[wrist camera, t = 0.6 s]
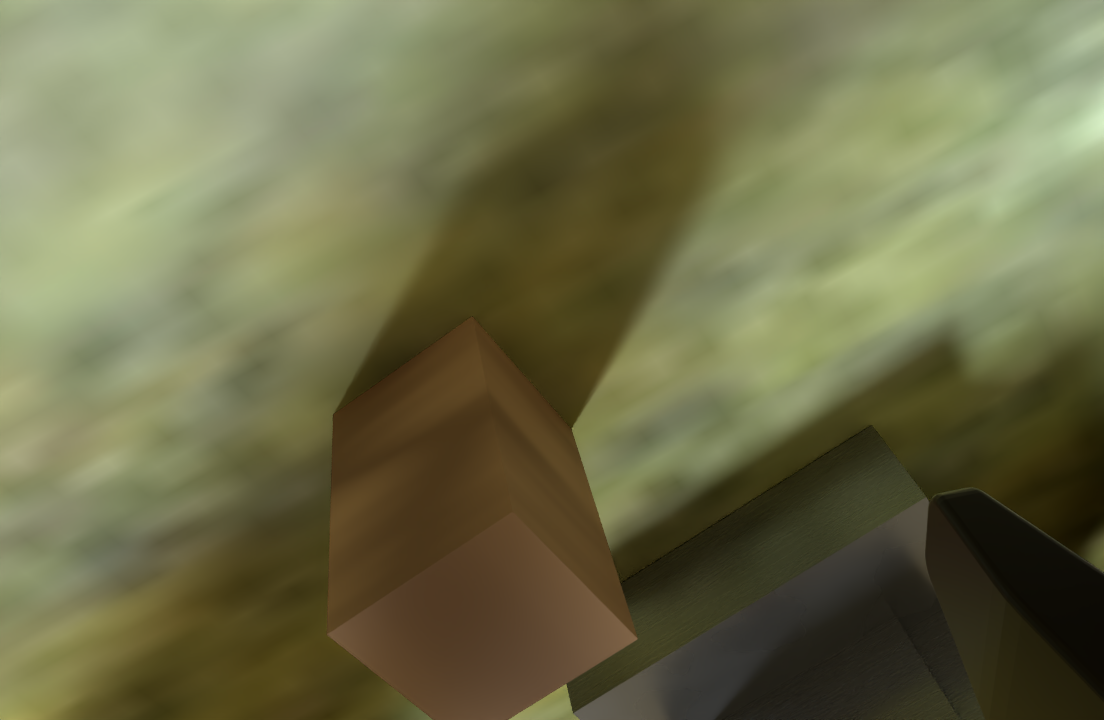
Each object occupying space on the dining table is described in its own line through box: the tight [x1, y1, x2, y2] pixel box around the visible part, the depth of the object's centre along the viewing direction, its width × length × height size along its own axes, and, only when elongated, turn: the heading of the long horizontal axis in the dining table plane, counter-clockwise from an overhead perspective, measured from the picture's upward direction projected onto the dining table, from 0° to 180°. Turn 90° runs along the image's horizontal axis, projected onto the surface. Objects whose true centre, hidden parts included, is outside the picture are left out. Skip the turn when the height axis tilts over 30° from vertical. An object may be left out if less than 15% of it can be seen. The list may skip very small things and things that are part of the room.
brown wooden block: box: [327, 316, 638, 720], centre depth 22 cm, size 4×4×7 cm
